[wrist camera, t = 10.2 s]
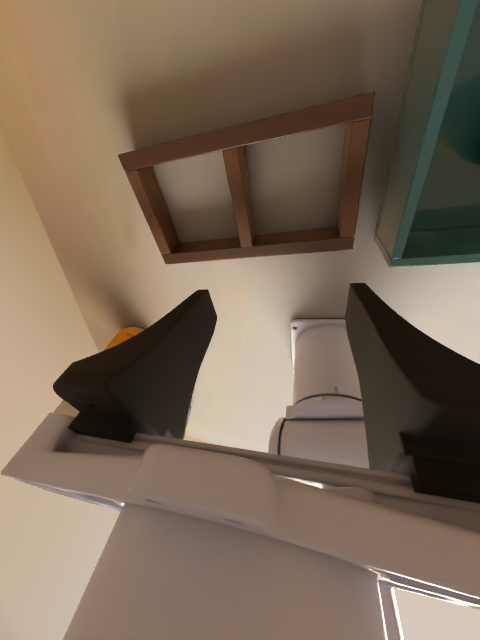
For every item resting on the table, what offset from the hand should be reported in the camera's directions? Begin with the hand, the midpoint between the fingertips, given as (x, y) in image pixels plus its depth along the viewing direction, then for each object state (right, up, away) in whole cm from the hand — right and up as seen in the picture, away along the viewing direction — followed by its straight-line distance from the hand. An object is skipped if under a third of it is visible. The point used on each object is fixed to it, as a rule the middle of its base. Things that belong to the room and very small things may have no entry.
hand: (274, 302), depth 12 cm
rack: (-1, +9, +6) cm, 11 cm away
